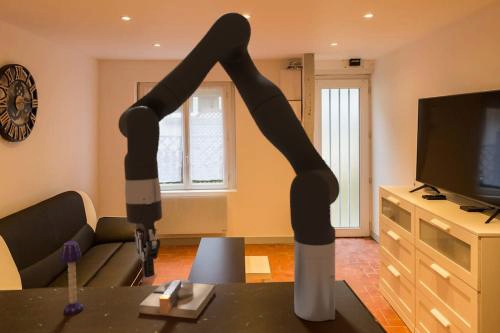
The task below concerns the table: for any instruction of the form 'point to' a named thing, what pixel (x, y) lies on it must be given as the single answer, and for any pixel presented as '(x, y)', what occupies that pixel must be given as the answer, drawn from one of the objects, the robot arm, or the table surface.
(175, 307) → the board
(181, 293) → the orange-tipped lever
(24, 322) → the table surface
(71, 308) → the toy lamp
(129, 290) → the table surface
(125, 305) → the table surface
